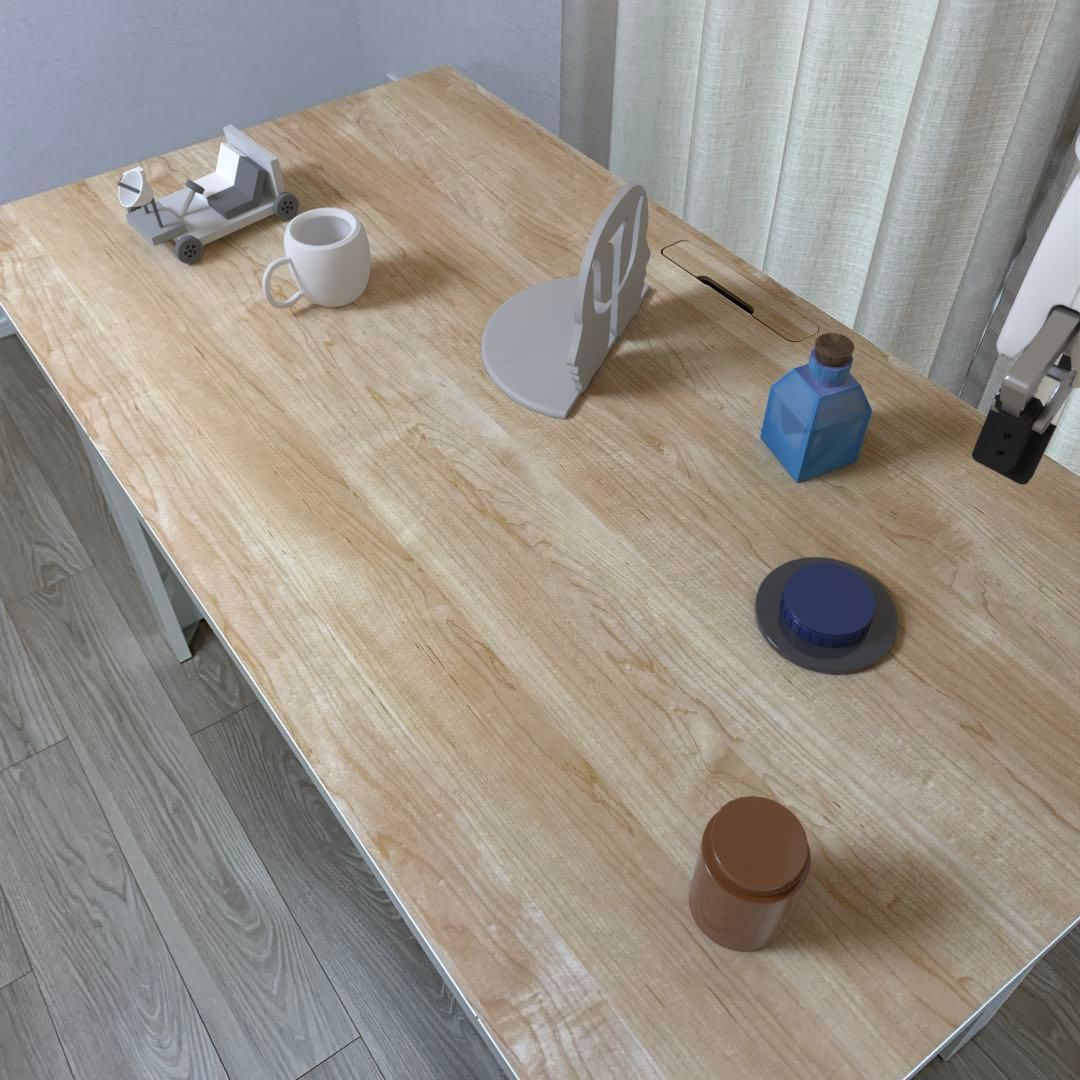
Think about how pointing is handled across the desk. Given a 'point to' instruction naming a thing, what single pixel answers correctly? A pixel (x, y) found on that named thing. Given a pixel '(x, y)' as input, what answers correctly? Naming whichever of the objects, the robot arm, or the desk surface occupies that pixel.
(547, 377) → the ornament
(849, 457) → the perfume bottle
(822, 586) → the lid
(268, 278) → the mug
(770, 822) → the jar
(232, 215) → the toy car
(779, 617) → the coaster
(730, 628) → the desk surface
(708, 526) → the desk surface
